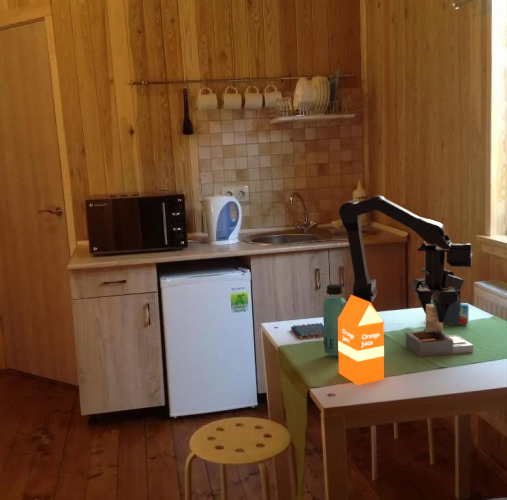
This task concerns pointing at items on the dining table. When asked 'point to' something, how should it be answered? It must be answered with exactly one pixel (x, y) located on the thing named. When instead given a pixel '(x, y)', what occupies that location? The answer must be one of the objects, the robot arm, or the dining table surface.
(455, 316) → the vaping device
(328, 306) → the beverage bottle
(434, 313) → the tan wooden block
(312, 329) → the woven mat
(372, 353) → the orange juice
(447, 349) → the box
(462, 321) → the yogurt
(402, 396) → the dining table surface
